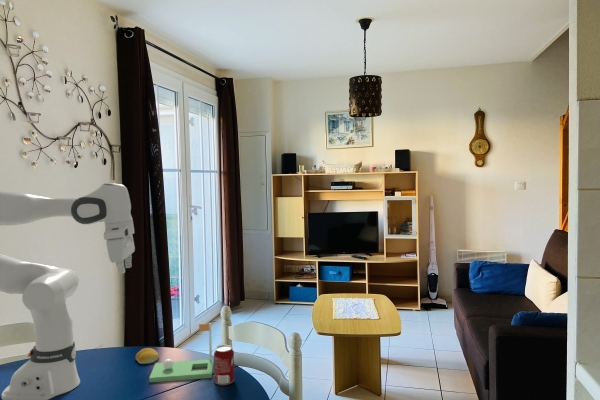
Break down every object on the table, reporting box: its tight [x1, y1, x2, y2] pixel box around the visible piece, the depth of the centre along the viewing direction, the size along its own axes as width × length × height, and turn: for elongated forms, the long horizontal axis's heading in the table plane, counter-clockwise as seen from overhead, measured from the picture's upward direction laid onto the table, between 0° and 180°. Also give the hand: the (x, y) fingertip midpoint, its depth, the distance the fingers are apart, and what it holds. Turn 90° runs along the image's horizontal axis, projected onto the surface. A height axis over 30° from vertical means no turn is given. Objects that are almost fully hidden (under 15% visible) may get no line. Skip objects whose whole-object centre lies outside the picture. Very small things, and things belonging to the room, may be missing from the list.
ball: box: [162, 358, 174, 370], centre depth 155 cm, size 4×4×4 cm
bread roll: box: [135, 347, 160, 365], centre depth 167 cm, size 8×9×4 cm
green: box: [148, 322, 214, 383], centre depth 155 cm, size 21×12×16 cm, turn 99°
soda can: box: [213, 344, 235, 387], centre depth 148 cm, size 7×7×12 cm
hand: (125, 270), depth 147 cm, fingers open, 8 cm apart
